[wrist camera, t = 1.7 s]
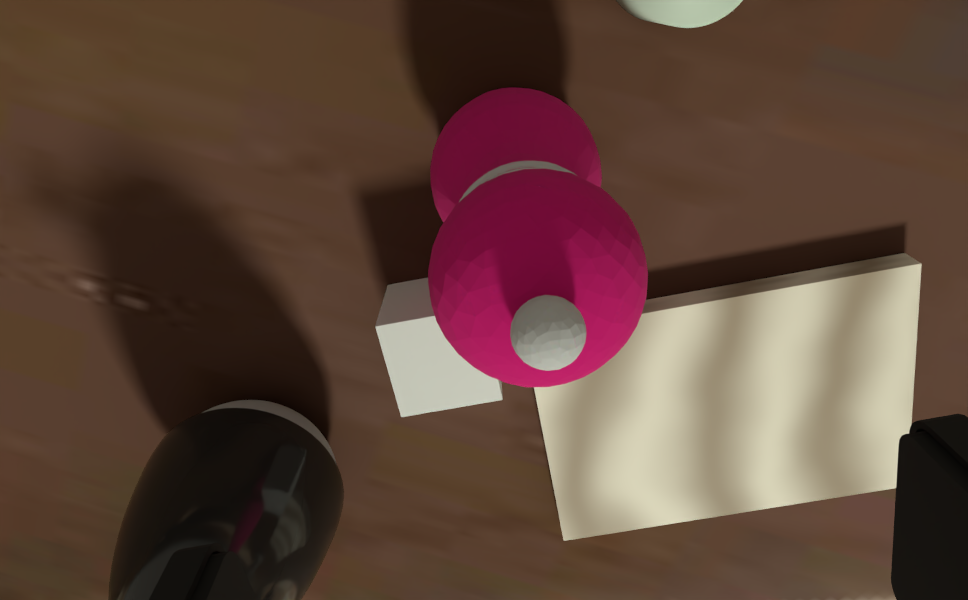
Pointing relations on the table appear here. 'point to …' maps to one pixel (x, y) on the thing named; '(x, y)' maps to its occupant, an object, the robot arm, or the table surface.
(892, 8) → the table surface
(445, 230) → the pepper mill
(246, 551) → the dark grey egg shape
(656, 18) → the sage cylinder
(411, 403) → the grey block
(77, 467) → the table surface
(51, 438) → the table surface
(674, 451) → the ash board
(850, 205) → the table surface
